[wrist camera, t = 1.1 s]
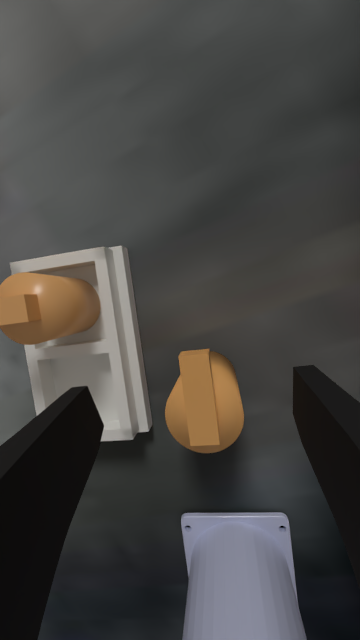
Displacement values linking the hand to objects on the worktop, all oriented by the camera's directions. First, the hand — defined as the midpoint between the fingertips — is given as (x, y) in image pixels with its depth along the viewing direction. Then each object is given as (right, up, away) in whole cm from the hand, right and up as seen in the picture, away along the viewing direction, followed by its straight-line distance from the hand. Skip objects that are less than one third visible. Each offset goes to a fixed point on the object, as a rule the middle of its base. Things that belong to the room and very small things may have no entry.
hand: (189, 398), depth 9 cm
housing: (-8, +1, +12) cm, 14 cm away
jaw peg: (+2, -2, +10) cm, 11 cm away
